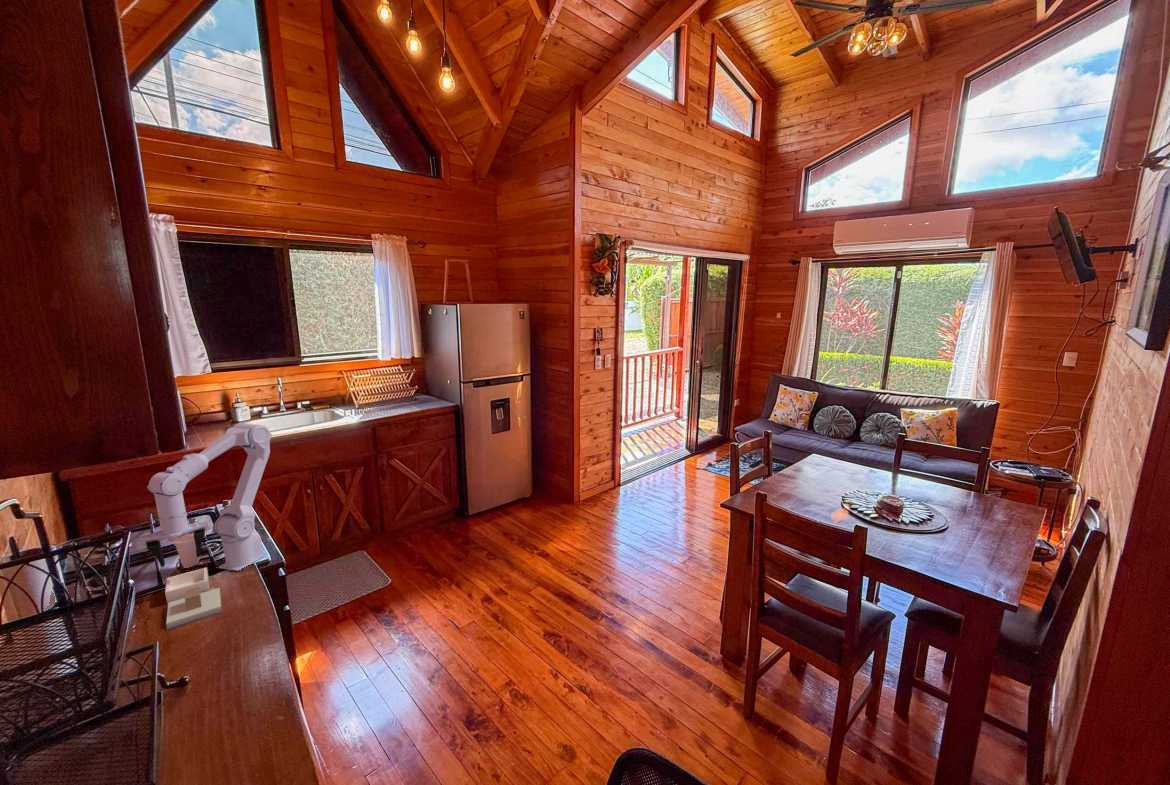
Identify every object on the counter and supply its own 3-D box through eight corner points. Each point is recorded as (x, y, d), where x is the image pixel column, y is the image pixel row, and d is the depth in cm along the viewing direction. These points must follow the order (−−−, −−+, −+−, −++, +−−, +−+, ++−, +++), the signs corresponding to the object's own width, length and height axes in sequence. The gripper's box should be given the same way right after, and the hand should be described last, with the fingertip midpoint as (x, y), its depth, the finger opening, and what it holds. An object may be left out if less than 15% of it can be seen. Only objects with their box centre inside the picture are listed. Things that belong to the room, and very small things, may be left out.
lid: (168, 605, 129) (166, 590, 128) (219, 590, 136) (217, 576, 135) (166, 626, 121) (163, 611, 120) (221, 609, 127) (218, 594, 127)
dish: (169, 589, 137) (166, 578, 137) (208, 577, 143) (206, 567, 142) (167, 604, 130) (165, 592, 130) (209, 591, 136) (207, 580, 135)
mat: (169, 605, 130) (169, 603, 130) (220, 590, 137) (219, 588, 136) (166, 630, 120) (166, 628, 120) (221, 612, 126) (221, 611, 126)
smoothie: (182, 575, 144) (174, 531, 142) (175, 568, 148) (168, 525, 146) (208, 565, 149) (200, 523, 147) (201, 559, 153) (194, 518, 151)
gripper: (135, 527, 125) (145, 575, 127) (206, 512, 134) (214, 557, 136) (137, 518, 130) (147, 564, 133) (205, 504, 139) (213, 547, 142)
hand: (181, 560), depth 135 cm, fingers open, 7 cm apart
